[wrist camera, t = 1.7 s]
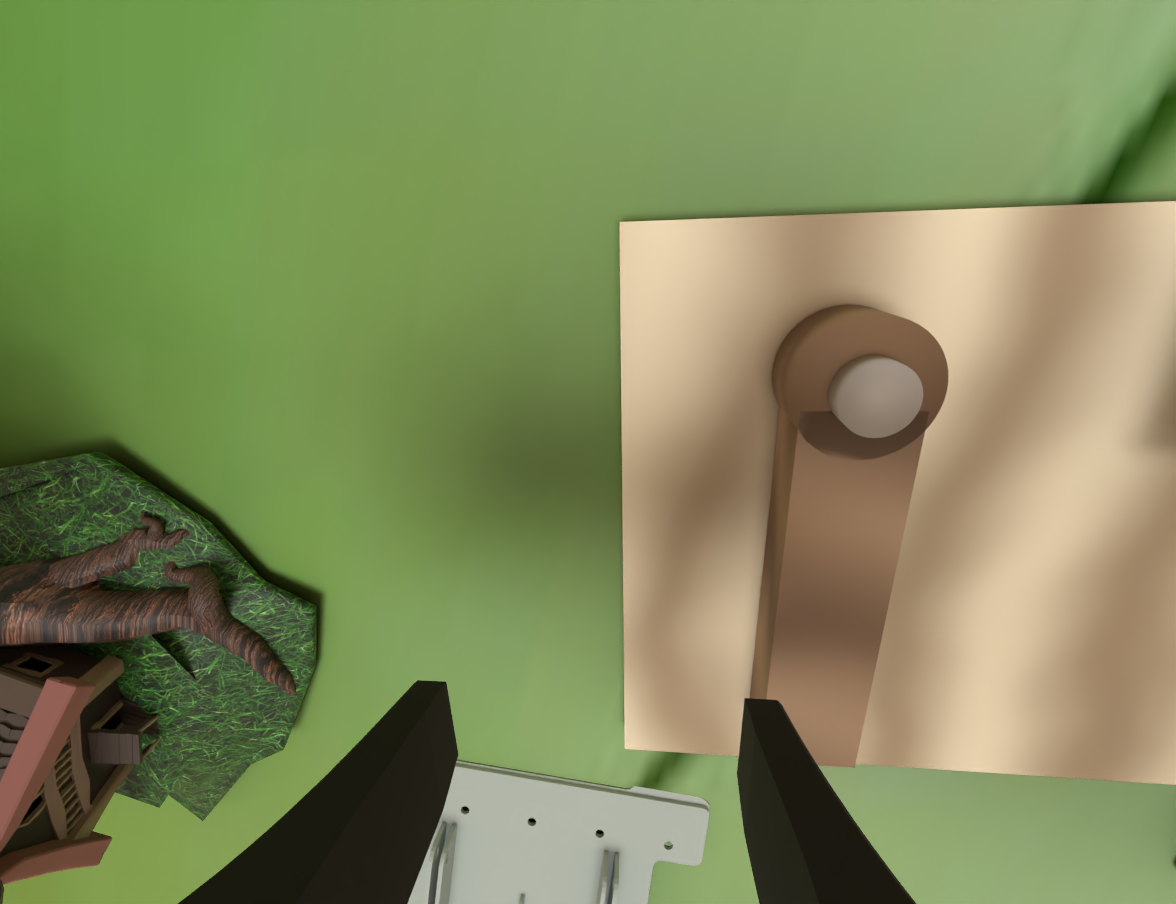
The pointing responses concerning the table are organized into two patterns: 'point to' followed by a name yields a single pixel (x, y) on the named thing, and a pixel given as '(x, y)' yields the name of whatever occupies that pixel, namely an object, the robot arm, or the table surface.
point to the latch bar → (839, 512)
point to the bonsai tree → (128, 658)
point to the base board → (920, 479)
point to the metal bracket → (554, 840)
